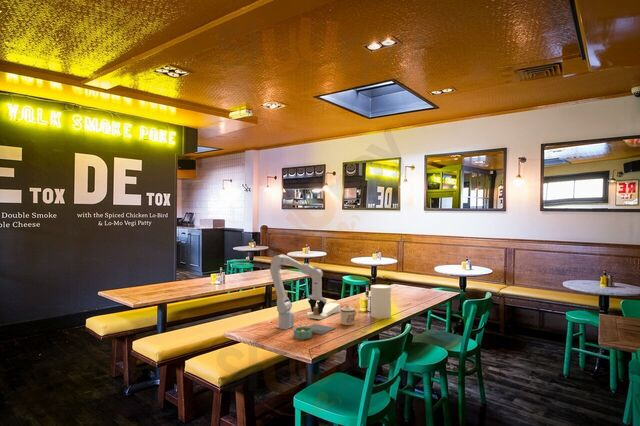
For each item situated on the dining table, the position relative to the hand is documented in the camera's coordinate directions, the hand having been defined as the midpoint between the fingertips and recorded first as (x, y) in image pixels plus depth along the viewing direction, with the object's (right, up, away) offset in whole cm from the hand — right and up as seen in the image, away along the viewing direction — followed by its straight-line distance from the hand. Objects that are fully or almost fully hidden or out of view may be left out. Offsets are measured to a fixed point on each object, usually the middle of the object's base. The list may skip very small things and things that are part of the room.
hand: (317, 312), depth 229 cm
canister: (+43, -11, +32) cm, 55 cm away
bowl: (-8, -10, -12) cm, 17 cm away
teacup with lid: (+20, -11, +15) cm, 27 cm away
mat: (+1, -10, +1) cm, 10 cm away
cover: (0, -2, 0) cm, 2 cm away
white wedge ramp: (+5, -11, +36) cm, 38 cm away
